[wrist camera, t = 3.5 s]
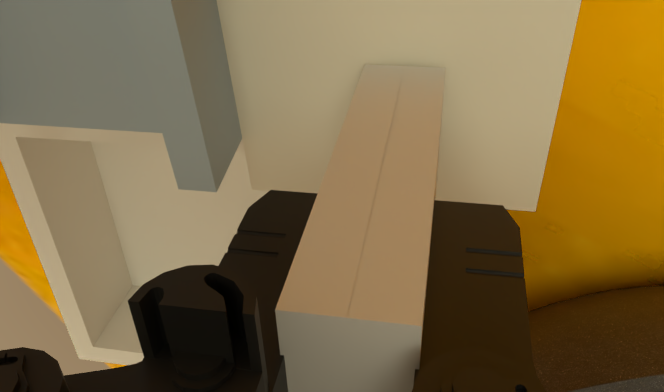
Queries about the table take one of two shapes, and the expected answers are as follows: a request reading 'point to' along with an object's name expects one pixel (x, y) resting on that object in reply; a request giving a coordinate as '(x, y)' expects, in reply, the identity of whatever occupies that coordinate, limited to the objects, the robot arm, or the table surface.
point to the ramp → (293, 81)
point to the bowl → (601, 342)
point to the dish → (114, 222)
